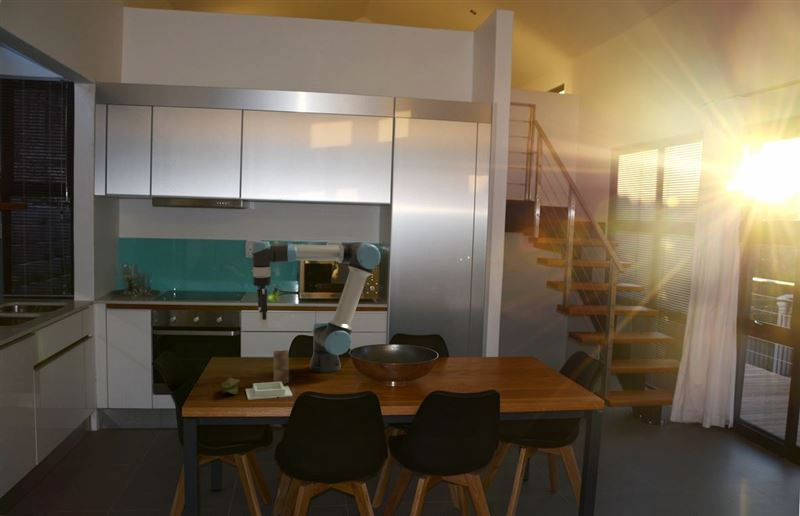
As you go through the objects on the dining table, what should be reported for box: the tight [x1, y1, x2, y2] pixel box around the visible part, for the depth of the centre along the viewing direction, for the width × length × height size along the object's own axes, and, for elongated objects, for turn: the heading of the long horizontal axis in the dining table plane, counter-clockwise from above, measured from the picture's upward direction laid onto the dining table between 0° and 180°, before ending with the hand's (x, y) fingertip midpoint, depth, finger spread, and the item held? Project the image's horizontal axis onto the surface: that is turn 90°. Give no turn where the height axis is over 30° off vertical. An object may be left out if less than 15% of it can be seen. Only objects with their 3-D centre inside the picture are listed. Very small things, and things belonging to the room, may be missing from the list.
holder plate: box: [245, 381, 294, 401], centre depth 258 cm, size 18×14×3 cm
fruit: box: [221, 377, 241, 395], centre depth 257 cm, size 11×12×7 cm
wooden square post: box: [273, 350, 290, 385], centre depth 274 cm, size 6×5×14 cm
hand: (262, 324), depth 272 cm, fingers open, 13 cm apart
